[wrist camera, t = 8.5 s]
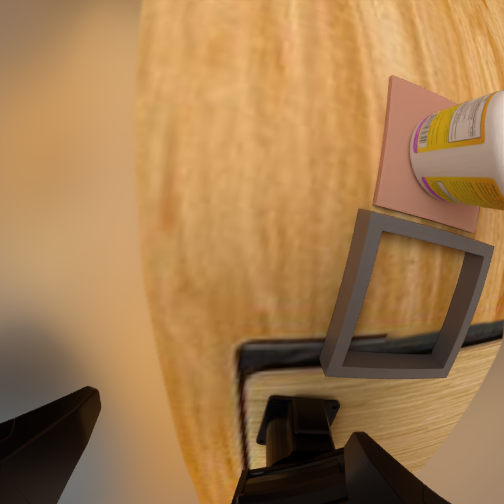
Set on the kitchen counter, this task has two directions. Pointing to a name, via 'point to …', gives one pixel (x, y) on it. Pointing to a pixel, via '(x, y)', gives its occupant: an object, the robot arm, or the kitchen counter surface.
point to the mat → (399, 163)
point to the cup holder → (355, 287)
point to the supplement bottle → (463, 152)
